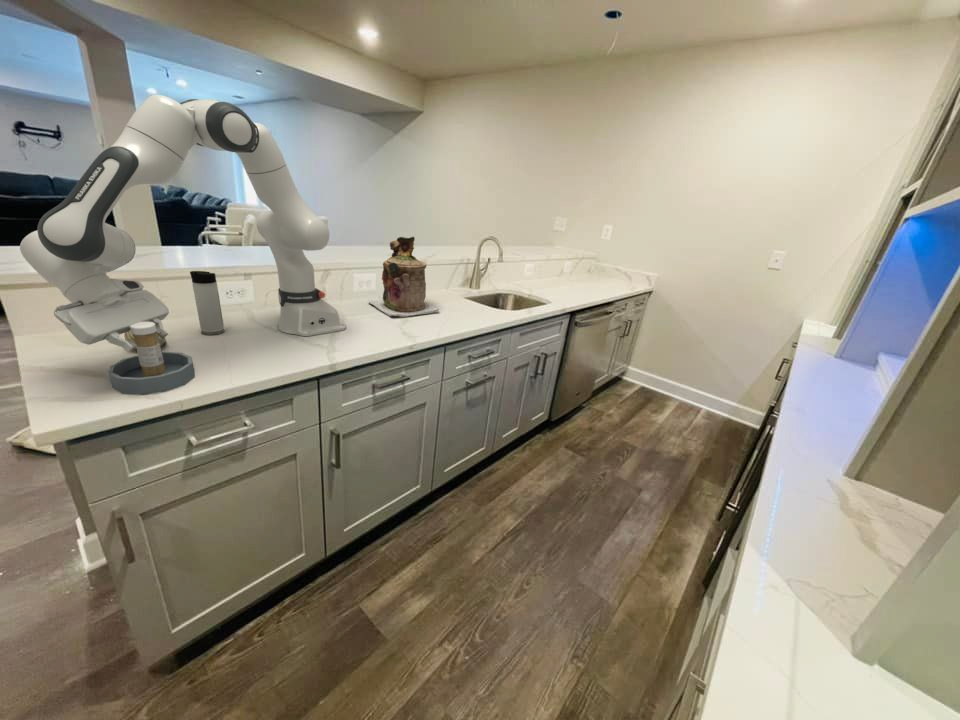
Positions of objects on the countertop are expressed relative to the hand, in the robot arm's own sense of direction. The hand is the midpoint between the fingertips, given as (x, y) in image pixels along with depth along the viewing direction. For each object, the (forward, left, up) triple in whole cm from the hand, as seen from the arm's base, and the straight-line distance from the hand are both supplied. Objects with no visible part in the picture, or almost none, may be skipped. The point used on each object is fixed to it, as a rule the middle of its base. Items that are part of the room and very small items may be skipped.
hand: (149, 342), depth 91 cm
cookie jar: (-85, -42, -10) cm, 95 cm away
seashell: (+3, -24, -10) cm, 26 cm away
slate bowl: (0, 0, -10) cm, 10 cm away
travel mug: (-13, -31, -10) cm, 35 cm away
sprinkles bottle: (0, 0, -9) cm, 9 cm away
